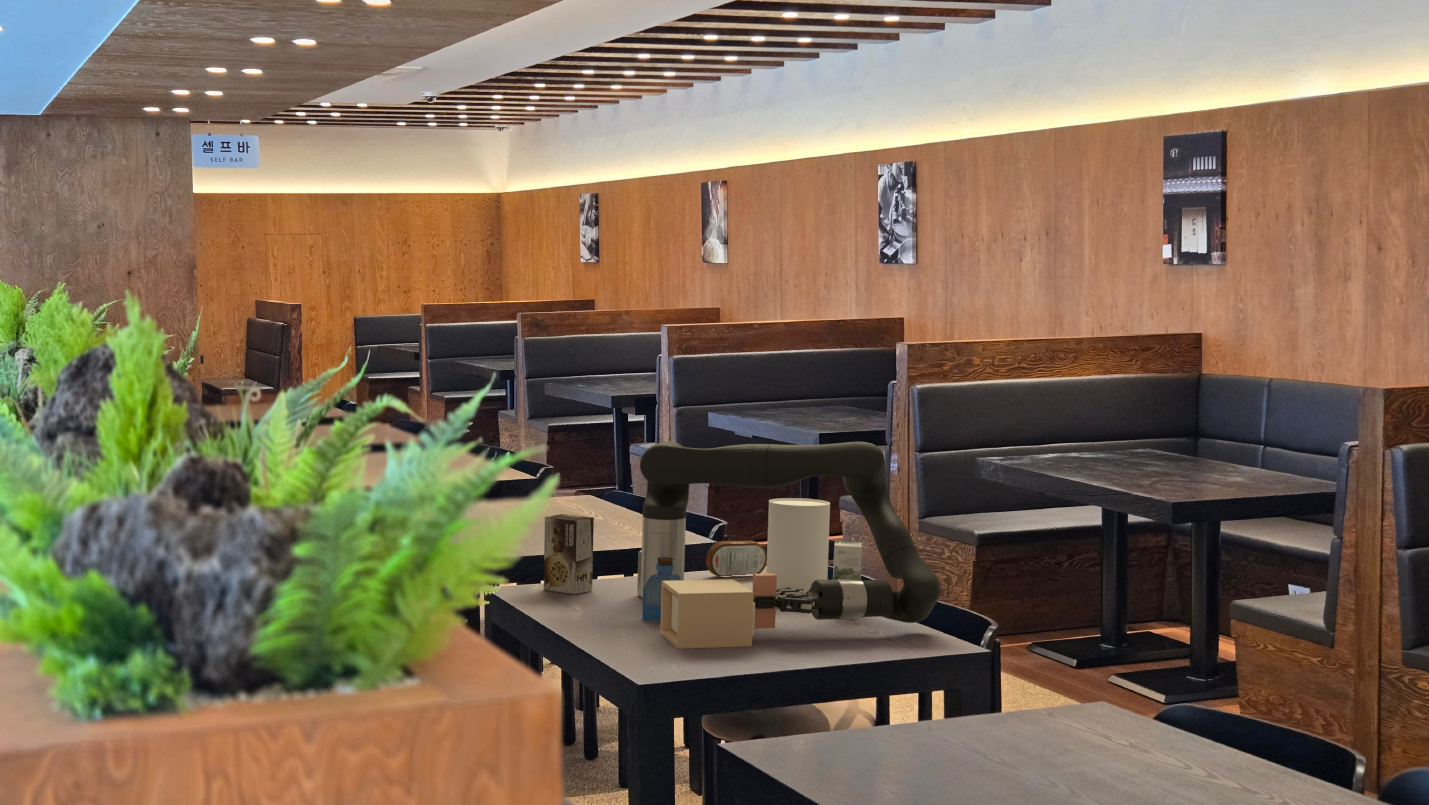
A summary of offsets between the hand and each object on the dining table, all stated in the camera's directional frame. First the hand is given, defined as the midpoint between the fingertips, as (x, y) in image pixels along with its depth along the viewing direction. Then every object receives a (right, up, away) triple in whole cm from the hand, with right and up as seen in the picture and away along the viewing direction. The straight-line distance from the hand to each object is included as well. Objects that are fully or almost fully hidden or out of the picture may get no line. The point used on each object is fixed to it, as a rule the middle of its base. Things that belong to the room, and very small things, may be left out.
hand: (751, 601), depth 267 cm
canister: (+11, -5, +50) cm, 52 cm away
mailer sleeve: (-9, -7, -2) cm, 11 cm away
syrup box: (+20, -6, +28) cm, 35 cm away
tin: (-2, -4, +67) cm, 67 cm away
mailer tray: (-5, -6, -1) cm, 8 cm away
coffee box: (-39, -4, +43) cm, 58 cm away
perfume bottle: (-17, -6, +17) cm, 25 cm away
